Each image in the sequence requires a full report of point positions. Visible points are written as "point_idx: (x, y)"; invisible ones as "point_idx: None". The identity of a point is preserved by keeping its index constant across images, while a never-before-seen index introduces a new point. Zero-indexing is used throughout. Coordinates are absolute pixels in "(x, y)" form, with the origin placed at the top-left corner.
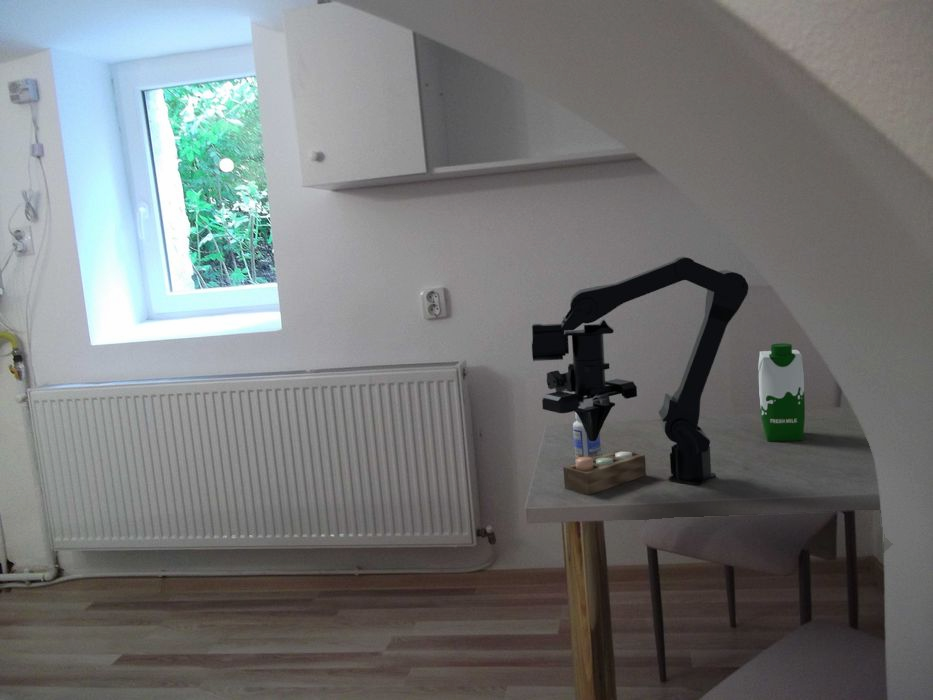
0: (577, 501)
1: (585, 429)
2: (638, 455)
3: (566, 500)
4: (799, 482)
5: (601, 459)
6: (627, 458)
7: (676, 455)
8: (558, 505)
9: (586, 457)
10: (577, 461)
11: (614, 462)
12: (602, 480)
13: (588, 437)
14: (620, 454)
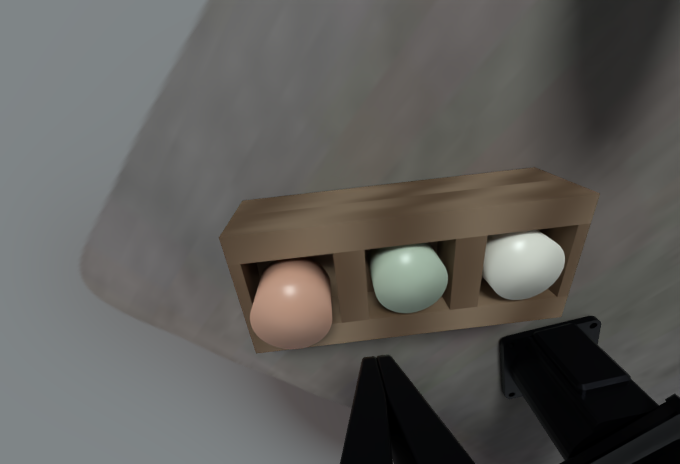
0: (214, 316)
1: (347, 437)
2: (544, 308)
3: (190, 294)
4: None
5: (409, 271)
6: (489, 310)
7: (560, 417)
8: (150, 311)
9: (320, 303)
10: (251, 322)
11: (419, 317)
12: None
13: (358, 377)
14: (513, 269)
